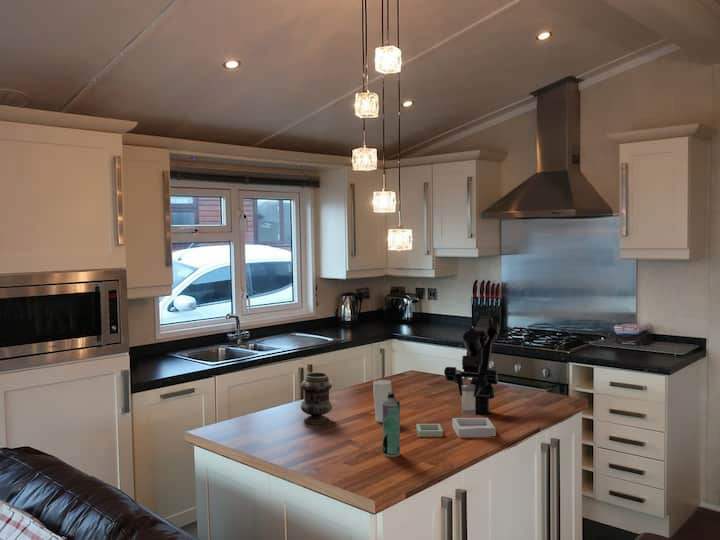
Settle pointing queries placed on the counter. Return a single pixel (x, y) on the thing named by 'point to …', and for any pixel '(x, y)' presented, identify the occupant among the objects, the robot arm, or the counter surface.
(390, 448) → the spray can
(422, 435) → the holder ring
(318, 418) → the apothecary jar
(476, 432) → the parts tray
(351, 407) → the counter surface
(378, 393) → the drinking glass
